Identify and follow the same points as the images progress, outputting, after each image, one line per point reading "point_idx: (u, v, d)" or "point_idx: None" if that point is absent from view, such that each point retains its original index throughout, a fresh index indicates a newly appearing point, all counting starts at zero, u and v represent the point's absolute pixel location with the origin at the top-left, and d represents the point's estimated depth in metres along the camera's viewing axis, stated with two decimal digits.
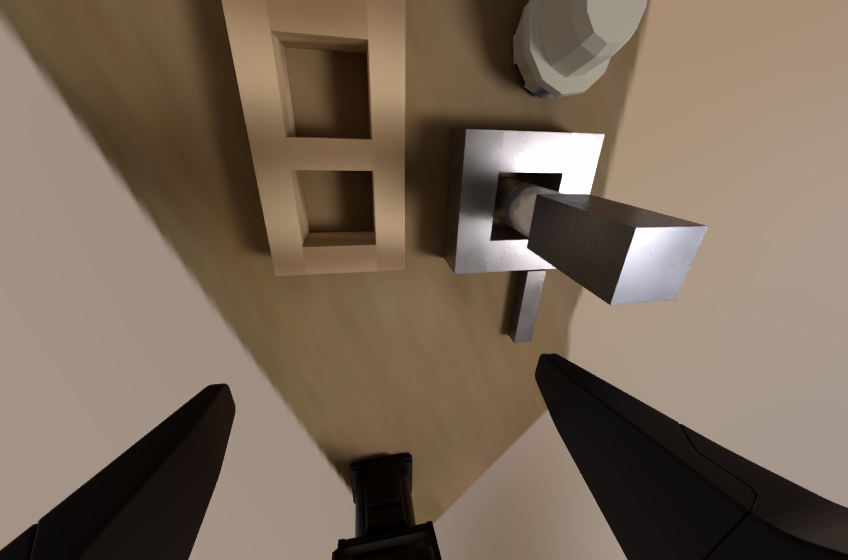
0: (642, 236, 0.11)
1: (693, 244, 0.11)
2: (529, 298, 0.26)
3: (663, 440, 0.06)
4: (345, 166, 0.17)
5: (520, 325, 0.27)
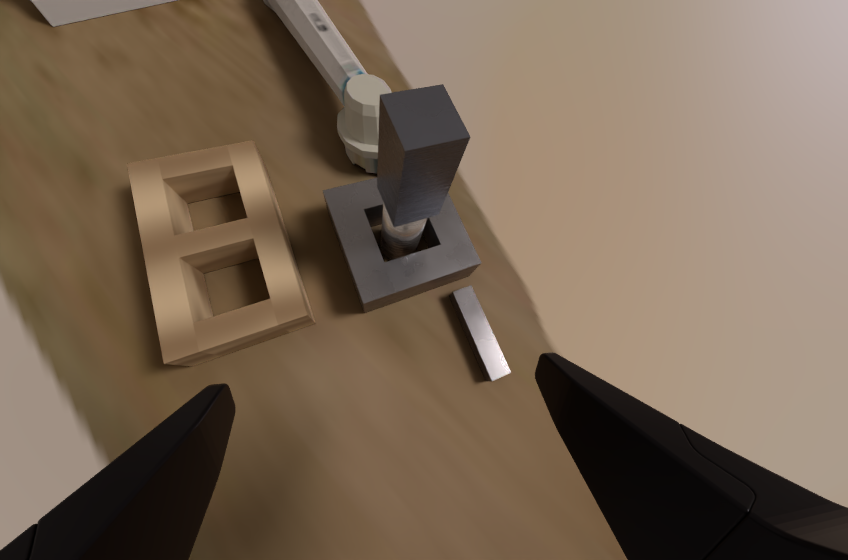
0: (390, 98, 0.13)
1: (443, 96, 0.14)
2: (473, 319, 0.23)
3: (663, 440, 0.06)
4: (227, 241, 0.20)
5: (484, 355, 0.22)
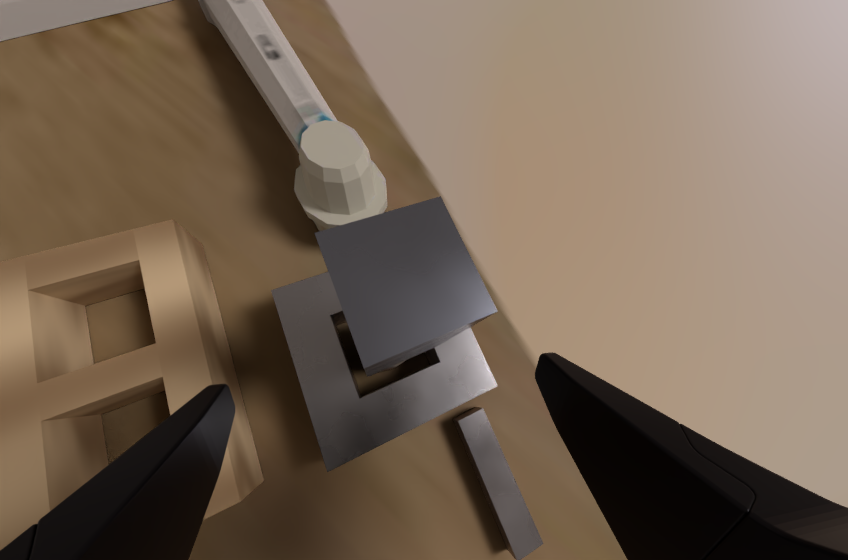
0: (336, 239, 0.06)
1: (441, 223, 0.07)
2: (487, 462, 0.16)
3: (663, 440, 0.06)
4: (122, 386, 0.13)
5: (505, 519, 0.16)
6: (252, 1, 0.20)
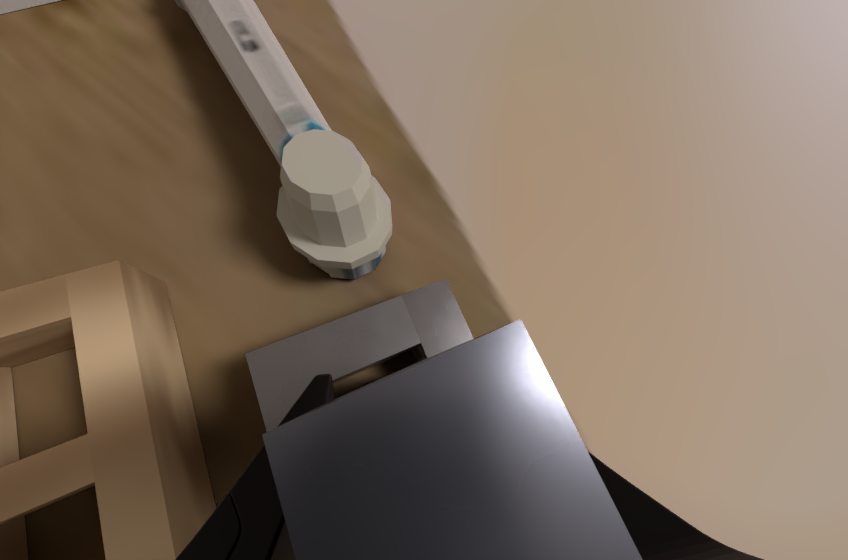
0: (310, 446, 0.03)
1: (528, 381, 0.03)
2: None
3: None
4: (37, 498, 0.10)
5: None
6: None
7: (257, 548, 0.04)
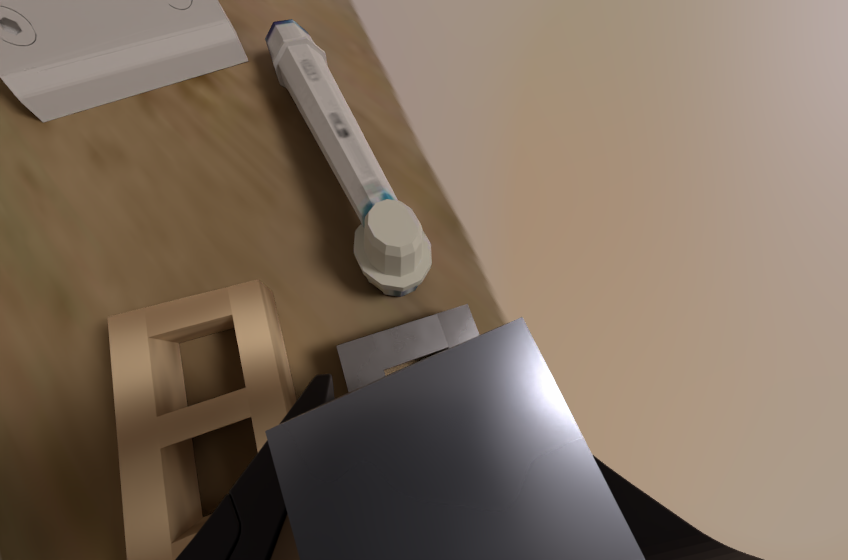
0: (313, 443, 0.03)
1: (530, 380, 0.04)
2: None
3: None
4: (220, 422, 0.17)
5: None
6: (325, 78, 0.24)
7: (258, 547, 0.04)
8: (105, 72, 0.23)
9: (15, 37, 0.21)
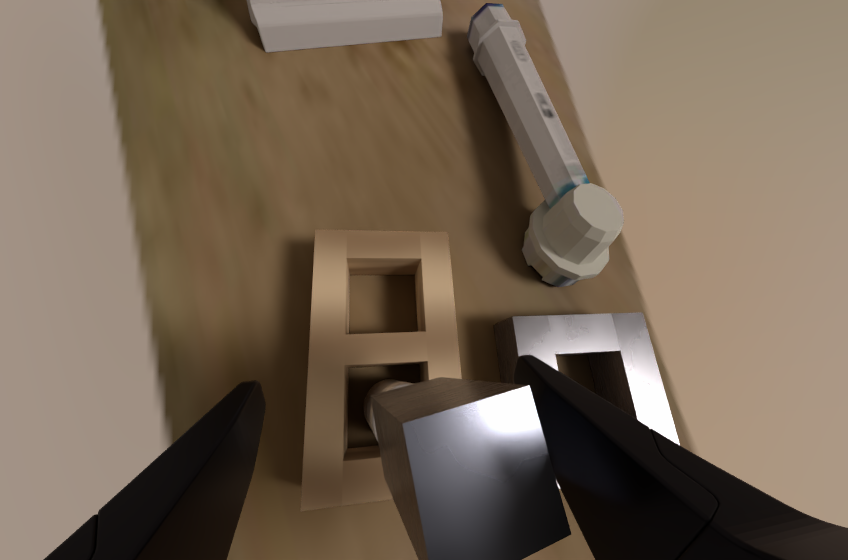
0: (423, 433, 0.06)
1: (527, 420, 0.07)
2: None
3: (631, 445, 0.06)
4: (399, 358, 0.16)
5: None
6: (531, 61, 0.24)
7: None
8: (330, 19, 0.25)
9: None
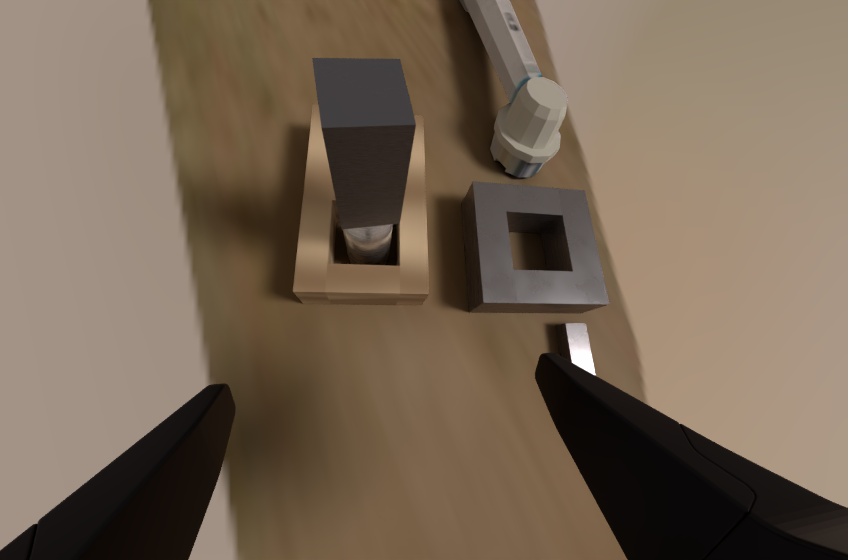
0: (324, 64, 0.10)
1: (395, 72, 0.11)
2: (579, 359, 0.21)
3: (663, 440, 0.06)
4: None
5: None
6: None
7: None
8: None
9: None
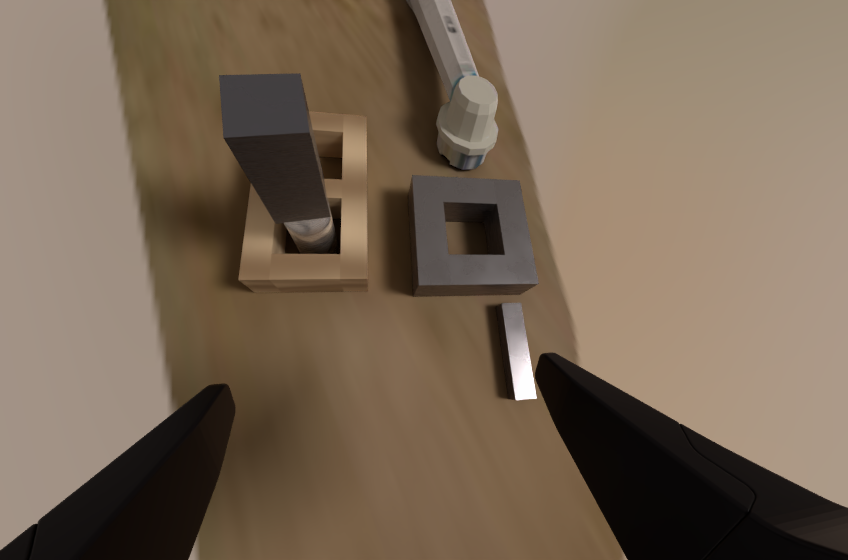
0: (230, 80, 0.12)
1: (295, 86, 0.12)
2: (514, 335, 0.23)
3: (663, 440, 0.06)
4: None
5: (515, 373, 0.22)
6: None
7: None
8: None
9: None
